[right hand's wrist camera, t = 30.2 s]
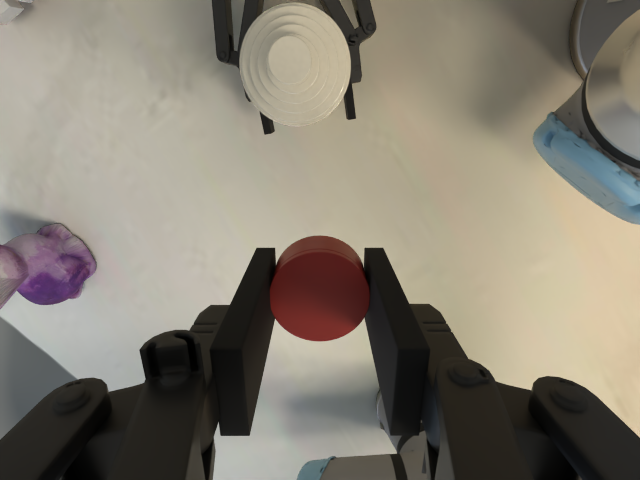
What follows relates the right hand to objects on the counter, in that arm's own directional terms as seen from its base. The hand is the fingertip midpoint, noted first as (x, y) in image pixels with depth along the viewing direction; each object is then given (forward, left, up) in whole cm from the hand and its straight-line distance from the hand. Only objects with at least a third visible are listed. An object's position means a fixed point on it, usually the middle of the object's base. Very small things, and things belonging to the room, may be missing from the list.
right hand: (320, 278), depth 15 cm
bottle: (+5, -8, -32) cm, 34 cm away
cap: (0, 0, +2) cm, 2 cm away
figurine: (+30, +24, -32) cm, 51 cm away
